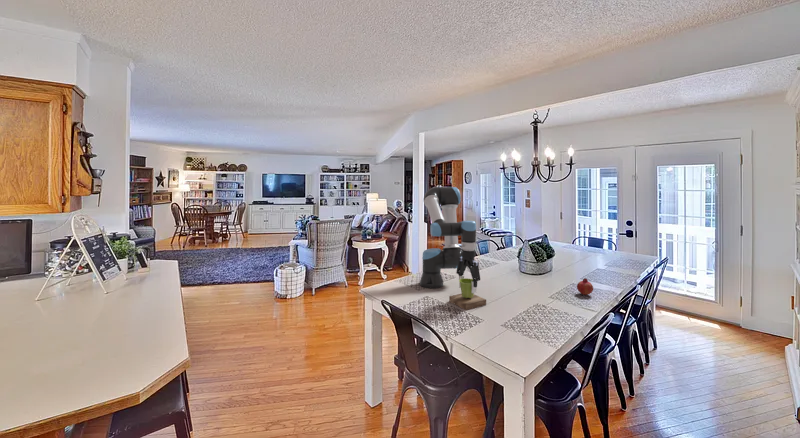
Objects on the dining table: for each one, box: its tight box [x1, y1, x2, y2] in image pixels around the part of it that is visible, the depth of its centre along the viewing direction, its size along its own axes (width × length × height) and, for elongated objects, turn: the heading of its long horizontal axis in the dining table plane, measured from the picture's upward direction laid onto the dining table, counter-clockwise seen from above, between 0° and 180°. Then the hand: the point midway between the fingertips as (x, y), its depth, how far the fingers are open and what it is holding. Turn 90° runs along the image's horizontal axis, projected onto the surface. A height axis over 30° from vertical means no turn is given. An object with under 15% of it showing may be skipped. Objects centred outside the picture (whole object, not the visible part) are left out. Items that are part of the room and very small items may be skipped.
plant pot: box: [458, 277, 475, 298], centre depth 170 cm, size 9×9×9 cm
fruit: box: [576, 277, 594, 296], centre depth 182 cm, size 8×8×10 cm
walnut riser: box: [449, 293, 487, 311], centre depth 171 cm, size 14×14×3 cm
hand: (467, 289), depth 170 cm, fingers closed on plant pot, 9 cm apart
